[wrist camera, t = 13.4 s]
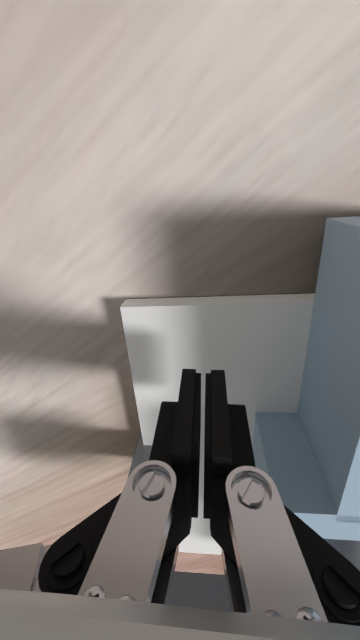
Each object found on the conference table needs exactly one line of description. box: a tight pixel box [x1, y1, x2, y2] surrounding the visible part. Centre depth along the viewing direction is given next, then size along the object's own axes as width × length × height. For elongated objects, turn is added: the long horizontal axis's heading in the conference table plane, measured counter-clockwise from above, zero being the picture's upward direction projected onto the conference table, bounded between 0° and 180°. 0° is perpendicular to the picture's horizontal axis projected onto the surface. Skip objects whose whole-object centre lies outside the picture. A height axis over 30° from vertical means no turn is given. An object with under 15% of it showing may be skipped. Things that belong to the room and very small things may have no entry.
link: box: [253, 216, 360, 541], centre depth 13 cm, size 21×7×5 cm, turn 3°
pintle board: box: [120, 293, 360, 612], centre depth 13 cm, size 20×20×8 cm
